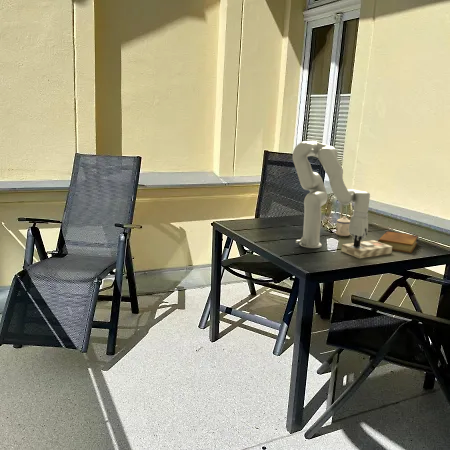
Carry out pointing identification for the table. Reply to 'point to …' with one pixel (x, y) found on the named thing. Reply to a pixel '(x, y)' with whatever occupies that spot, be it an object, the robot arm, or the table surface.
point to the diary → (399, 241)
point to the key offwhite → (367, 244)
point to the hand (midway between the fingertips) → (356, 246)
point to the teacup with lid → (343, 227)
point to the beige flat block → (367, 249)
